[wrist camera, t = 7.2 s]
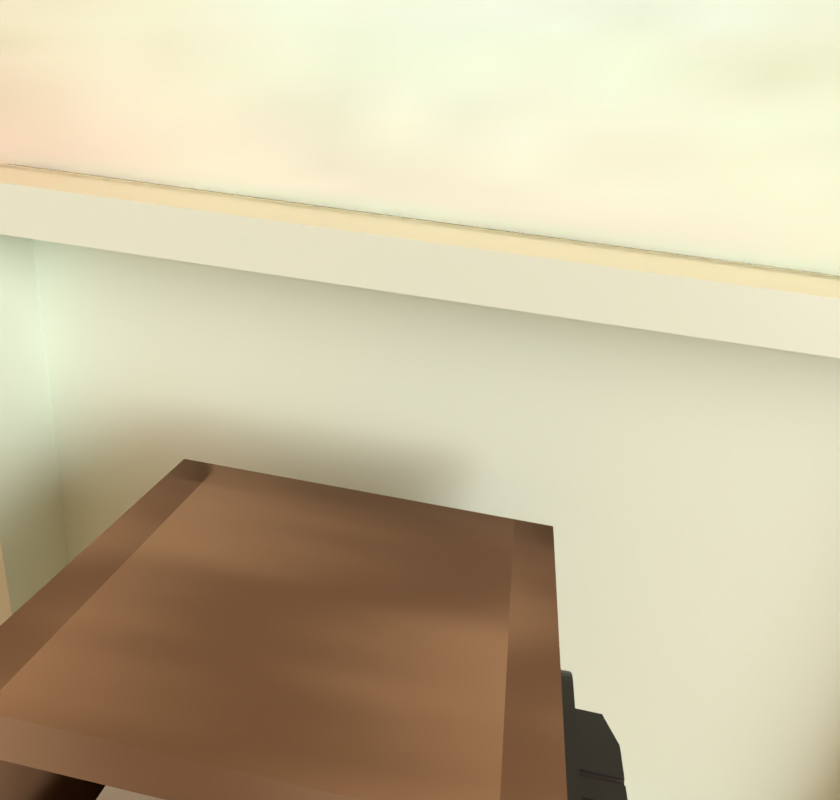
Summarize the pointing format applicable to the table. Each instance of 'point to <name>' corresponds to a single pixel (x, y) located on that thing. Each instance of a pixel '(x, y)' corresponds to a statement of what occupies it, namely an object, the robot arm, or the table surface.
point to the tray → (463, 431)
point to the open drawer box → (289, 652)
